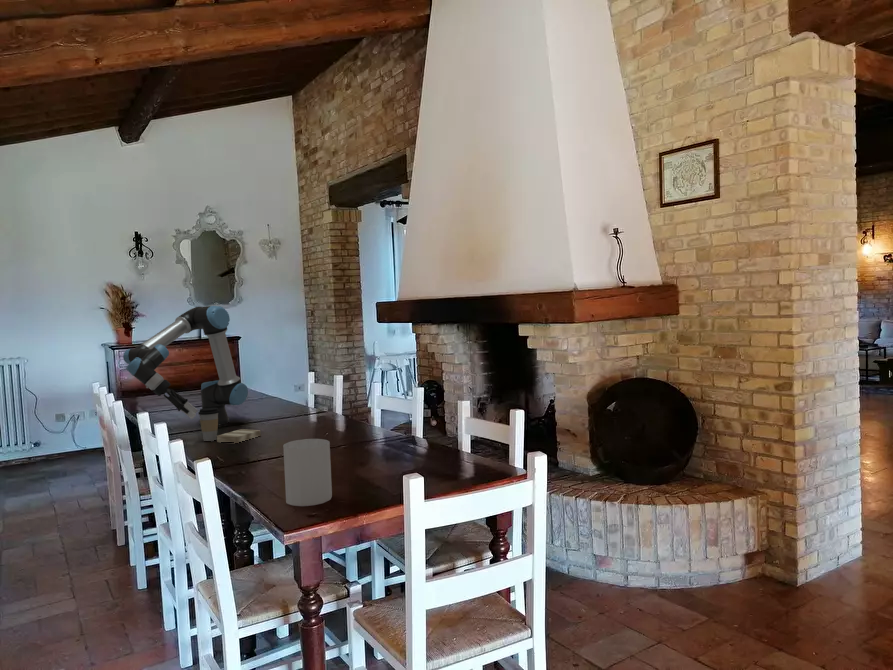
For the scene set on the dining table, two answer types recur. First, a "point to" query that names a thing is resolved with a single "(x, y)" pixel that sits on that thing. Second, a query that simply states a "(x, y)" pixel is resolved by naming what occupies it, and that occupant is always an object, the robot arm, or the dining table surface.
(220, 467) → the dining table surface
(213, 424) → the coffee cup
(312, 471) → the container
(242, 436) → the beige ridged slab
